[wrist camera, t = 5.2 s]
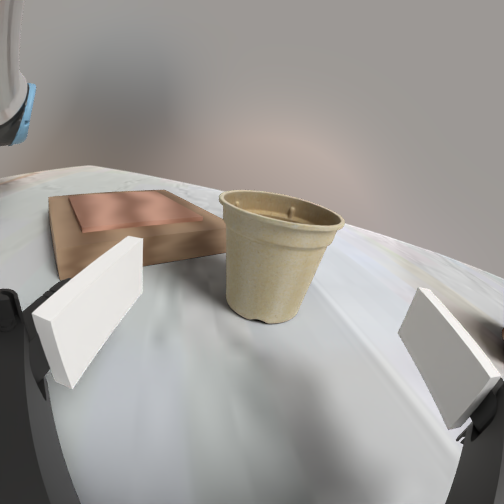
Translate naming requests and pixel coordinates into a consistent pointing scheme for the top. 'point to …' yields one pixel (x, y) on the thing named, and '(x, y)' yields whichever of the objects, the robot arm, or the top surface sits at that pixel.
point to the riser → (131, 227)
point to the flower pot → (273, 251)
